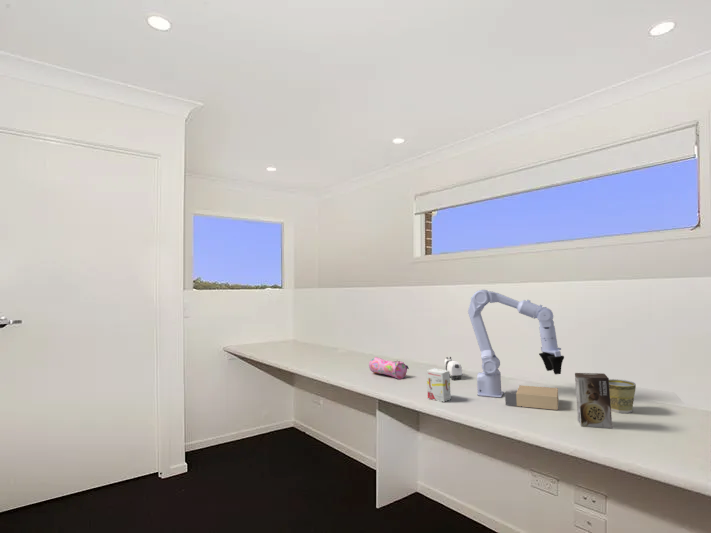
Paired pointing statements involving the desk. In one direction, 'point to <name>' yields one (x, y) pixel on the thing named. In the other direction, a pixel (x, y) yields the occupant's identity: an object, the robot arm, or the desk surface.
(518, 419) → the desk surface
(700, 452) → the desk surface
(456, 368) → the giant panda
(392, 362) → the pencil case
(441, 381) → the ink box
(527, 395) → the carton flap
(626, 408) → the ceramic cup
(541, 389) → the carton
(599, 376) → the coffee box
